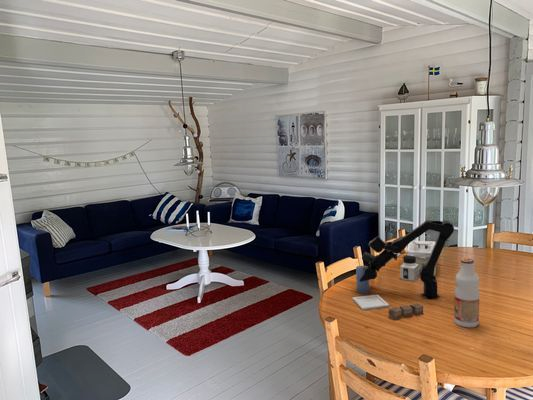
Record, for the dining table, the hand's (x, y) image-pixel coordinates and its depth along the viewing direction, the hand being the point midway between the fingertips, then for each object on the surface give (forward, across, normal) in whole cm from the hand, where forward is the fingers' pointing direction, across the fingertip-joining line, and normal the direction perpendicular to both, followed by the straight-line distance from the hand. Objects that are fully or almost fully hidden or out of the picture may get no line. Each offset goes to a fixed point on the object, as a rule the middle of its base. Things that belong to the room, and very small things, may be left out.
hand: (361, 278), depth 213 cm
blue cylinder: (+5, 0, +6) cm, 7 cm away
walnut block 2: (-11, +25, +21) cm, 34 cm away
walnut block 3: (-14, +22, +24) cm, 36 cm away
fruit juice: (-28, +27, +38) cm, 55 cm away
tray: (+1, +15, +9) cm, 18 cm away
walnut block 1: (-8, +28, +18) cm, 34 cm away
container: (-12, -25, +22) cm, 35 cm away
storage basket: (-16, -41, +27) cm, 52 cm away
